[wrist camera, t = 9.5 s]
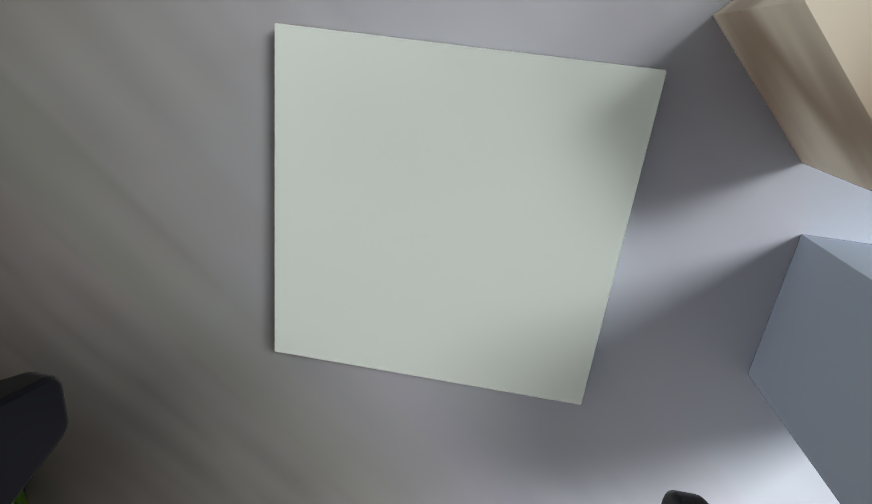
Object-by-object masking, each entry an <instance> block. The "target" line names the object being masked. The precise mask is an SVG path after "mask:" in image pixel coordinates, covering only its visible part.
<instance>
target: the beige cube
mask: <svg viewBox="0 0 872 504" xmlns="http://www.w3.org/2000/svg"><path fill="white" fill-rule="evenodd" d="M713 17H714V18H715V20H716V22H717V23H718V25H719V27H720V28H721V30H722V32H723V33H724V35H725V37H726V38H727V40H728V42H729V43H730V45H731V46H732V48H733V50H734V51H735V53H736V55H737V56H738V58H739V60H740V61H741V63H742V65H743V66H744V68H745V70H746V71H747V73H748V74H749V76H750V78H751V79H752V81H753V83H754V84H755V86H756V88H757V89H758V91H759V93H760V94H761V96H762V98H763V99H764V101H765V102H766V104H767V106H768V107H769V109H770V111H771V112H772V114H773V116H774V117H775V119H776V121H777V122H778V124H779V126H780V127H781V129H782V130H783V132H784V134H785V135H786V137H787V139H788V140H789V142H790V144H791V145H792V147H793V149H794V150H795V152H796V154H797V155H798V157H799V158H800V160H801V162H802V163H803V164H806V165H808V166H811V167H813V168H816V169H818V170H821V171H823V172H826V173H828V174H831V175H833V176H835V177H838V178H840V179H843V180H845V181H848V182H850V183H853V184H855V185H858V186H860V187H863V188H865V189H868V190H870V191H872V0H733V1H731V2H730V3H728V4H727V5H726V6H724V7H723V8H722V9H720V10H719V11H718V12H716V13H715V14H713Z"/></svg>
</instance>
